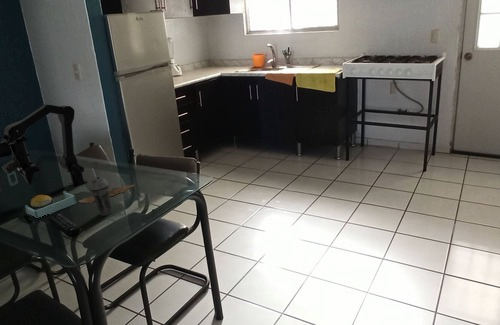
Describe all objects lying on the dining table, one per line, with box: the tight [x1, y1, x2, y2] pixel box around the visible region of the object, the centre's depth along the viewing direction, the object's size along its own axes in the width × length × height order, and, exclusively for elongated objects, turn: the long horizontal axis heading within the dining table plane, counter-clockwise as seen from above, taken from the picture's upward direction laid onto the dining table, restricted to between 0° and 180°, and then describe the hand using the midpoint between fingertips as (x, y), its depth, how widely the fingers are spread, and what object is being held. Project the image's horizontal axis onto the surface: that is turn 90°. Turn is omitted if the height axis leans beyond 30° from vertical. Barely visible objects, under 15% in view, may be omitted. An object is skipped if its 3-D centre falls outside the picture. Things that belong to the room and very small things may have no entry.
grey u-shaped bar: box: [24, 190, 78, 219], centre depth 178 cm, size 10×18×4 cm, turn 138°
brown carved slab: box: [77, 184, 135, 204], centre depth 188 cm, size 26×11×1 cm, turn 121°
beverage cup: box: [89, 167, 112, 217], centre depth 164 cm, size 7×7×20 cm
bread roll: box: [30, 194, 53, 208], centre depth 186 cm, size 8×9×4 cm
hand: (30, 184), depth 189 cm, fingers closed
